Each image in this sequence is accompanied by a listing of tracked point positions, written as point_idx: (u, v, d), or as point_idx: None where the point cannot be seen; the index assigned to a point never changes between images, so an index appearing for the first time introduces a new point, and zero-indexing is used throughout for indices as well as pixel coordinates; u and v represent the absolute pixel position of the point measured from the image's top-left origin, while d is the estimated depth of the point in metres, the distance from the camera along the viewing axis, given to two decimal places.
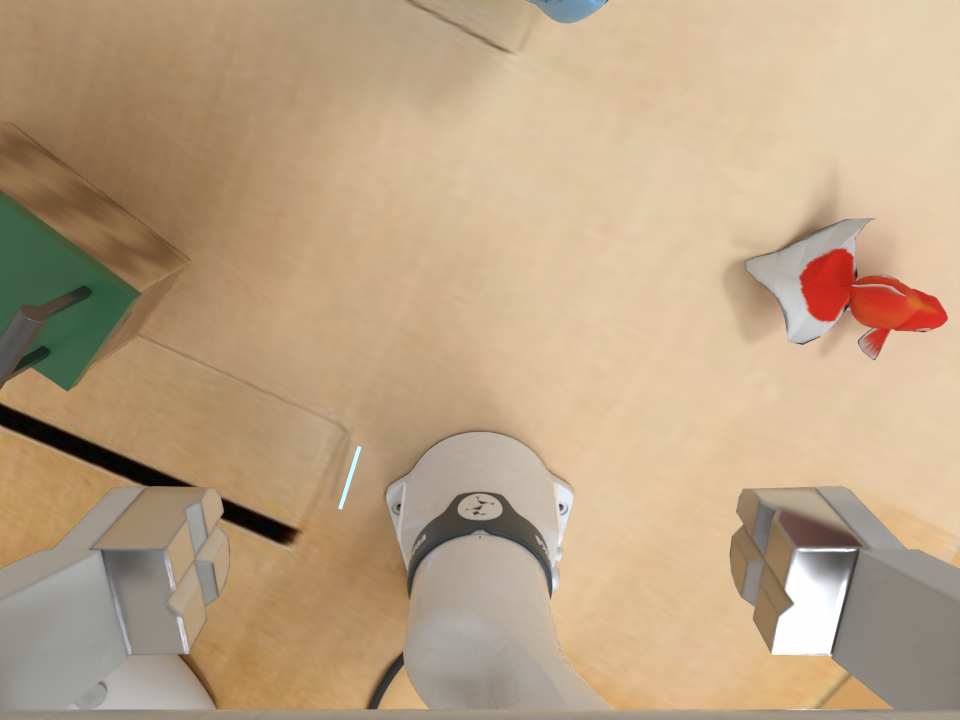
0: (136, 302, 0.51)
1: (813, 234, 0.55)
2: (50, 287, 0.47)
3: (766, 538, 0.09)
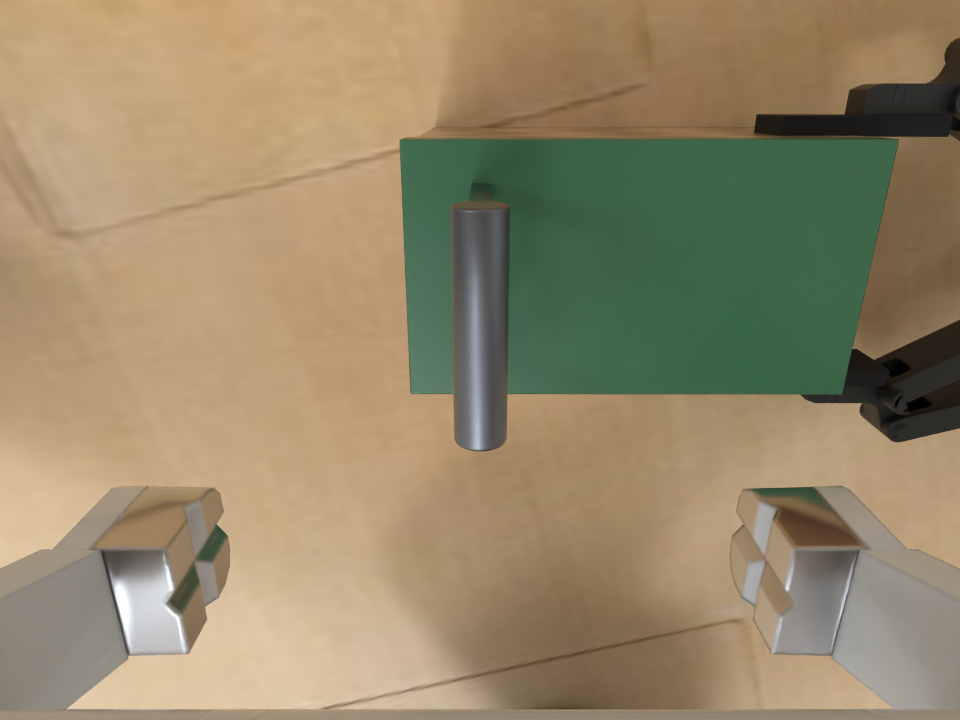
0: None
1: None
2: (534, 316, 0.25)
3: (766, 538, 0.09)
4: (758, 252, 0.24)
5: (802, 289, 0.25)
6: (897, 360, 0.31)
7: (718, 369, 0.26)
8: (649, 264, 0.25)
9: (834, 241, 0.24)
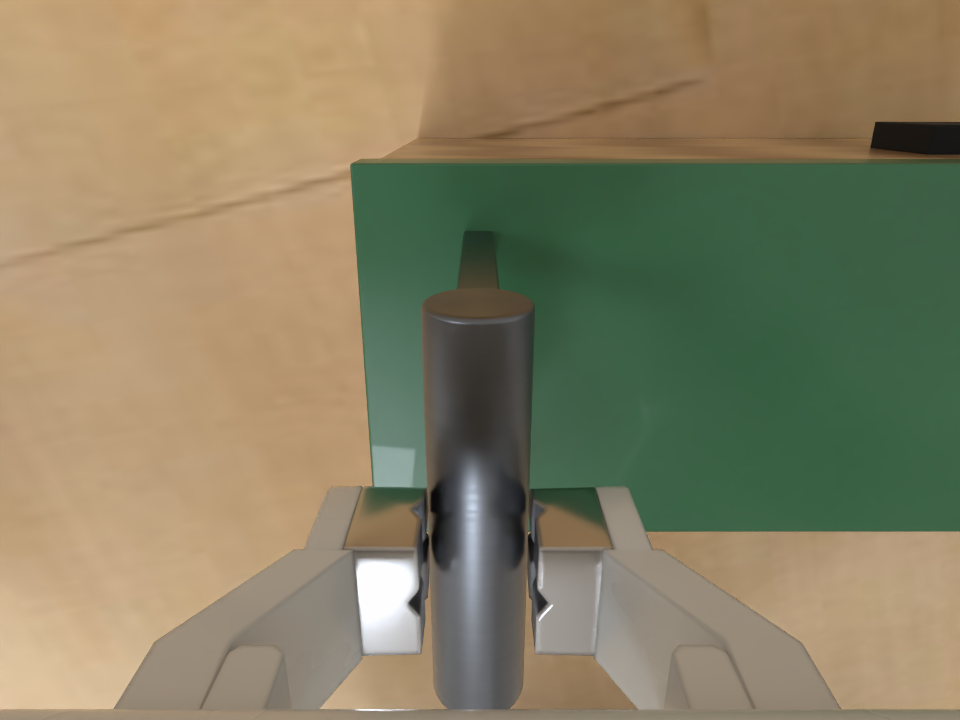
0: None
1: None
2: (558, 425, 0.17)
3: None
4: (901, 333, 0.16)
5: None
6: None
7: (828, 498, 0.18)
8: (735, 351, 0.16)
9: None
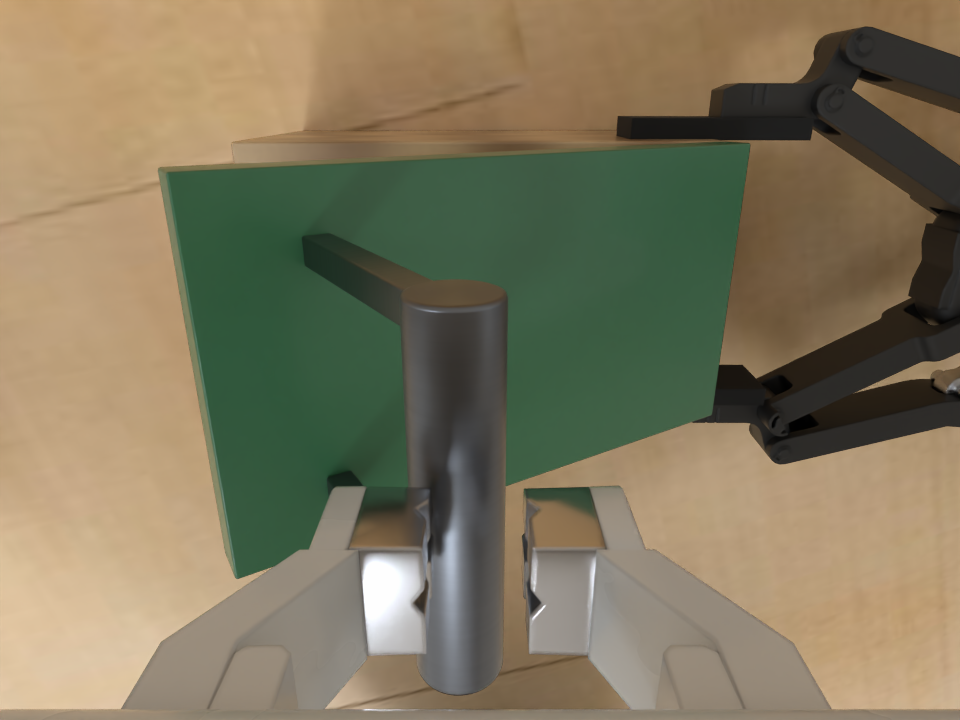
0: None
1: None
2: None
3: None
4: (643, 280, 0.21)
5: (680, 314, 0.22)
6: (782, 376, 0.29)
7: (612, 421, 0.22)
8: (540, 315, 0.19)
9: (704, 257, 0.22)
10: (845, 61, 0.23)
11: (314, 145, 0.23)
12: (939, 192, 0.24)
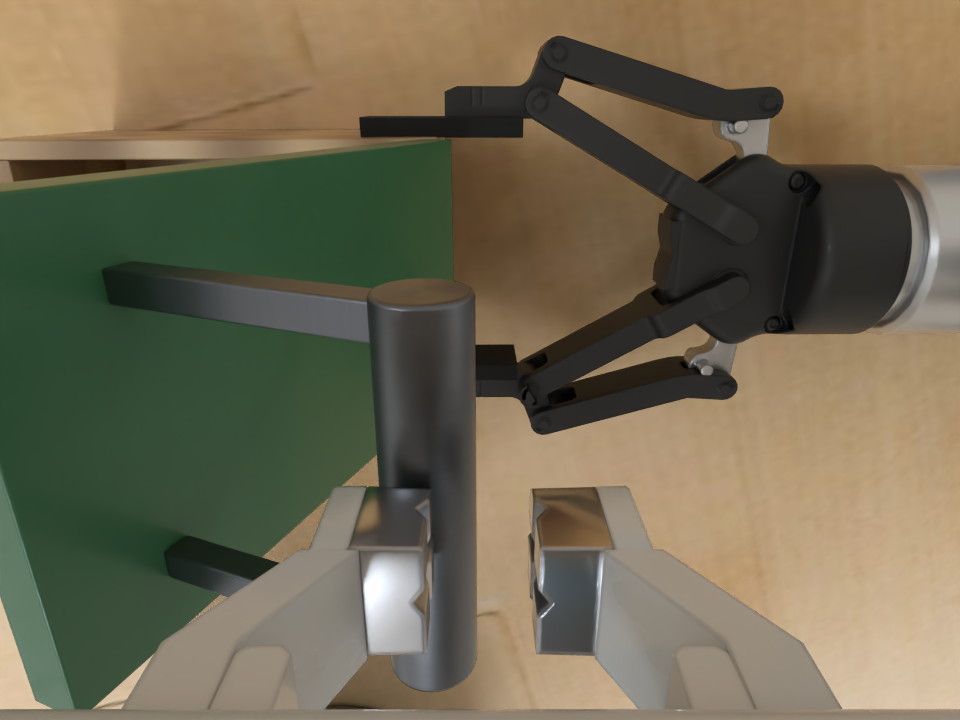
0: None
1: None
2: (234, 453, 0.16)
3: None
4: (399, 272, 0.22)
5: None
6: (546, 354, 0.32)
7: None
8: None
9: (435, 244, 0.24)
10: (549, 67, 0.26)
11: (61, 142, 0.25)
12: (647, 184, 0.27)
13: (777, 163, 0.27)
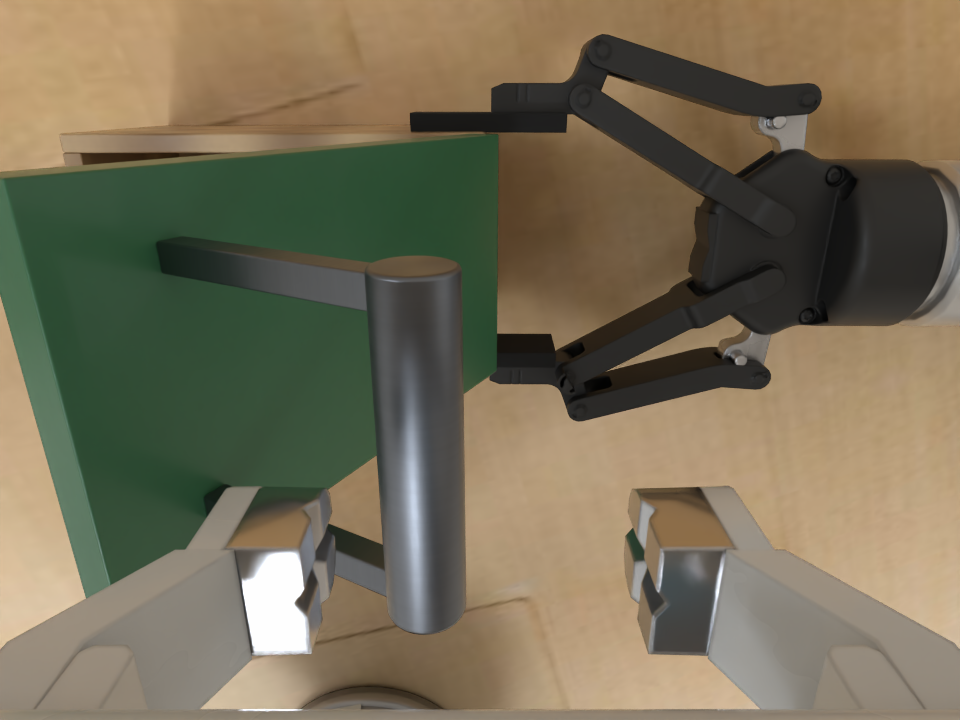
0: None
1: None
2: (271, 415, 0.17)
3: None
4: None
5: (468, 285, 0.25)
6: (582, 344, 0.33)
7: None
8: None
9: (479, 234, 0.25)
10: (593, 64, 0.27)
11: (130, 136, 0.26)
12: (686, 178, 0.28)
13: (814, 158, 0.28)
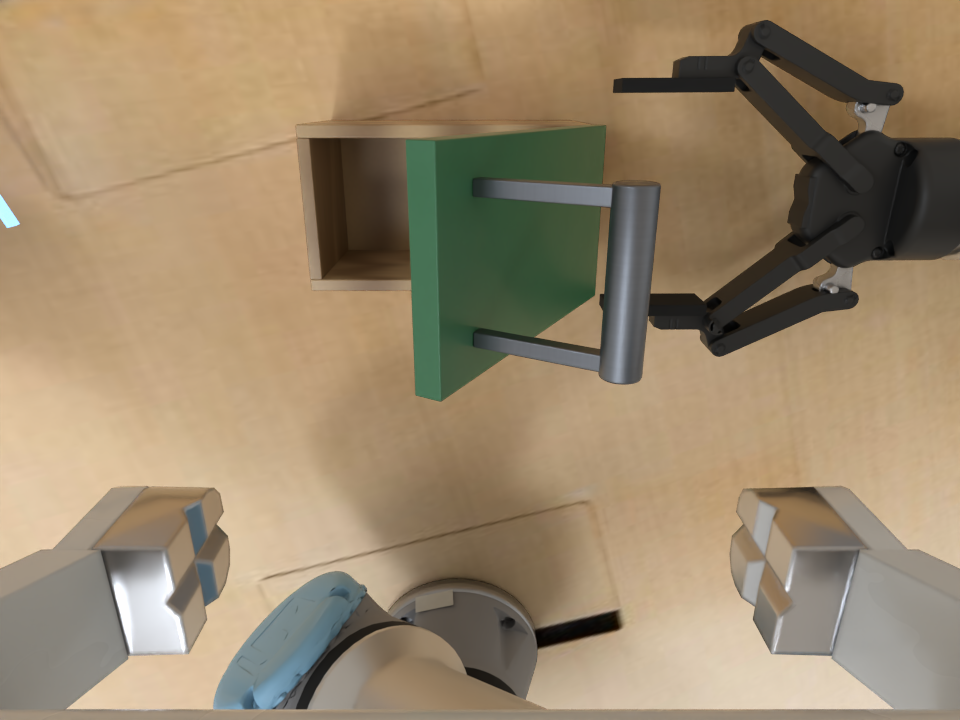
0: None
1: None
2: (499, 291, 0.29)
3: (766, 538, 0.09)
4: (573, 208, 0.35)
5: (585, 229, 0.37)
6: (717, 298, 0.44)
7: (563, 298, 0.36)
8: (542, 229, 0.31)
9: None
10: (755, 42, 0.37)
11: (345, 126, 0.38)
12: (804, 138, 0.39)
13: (886, 136, 0.39)
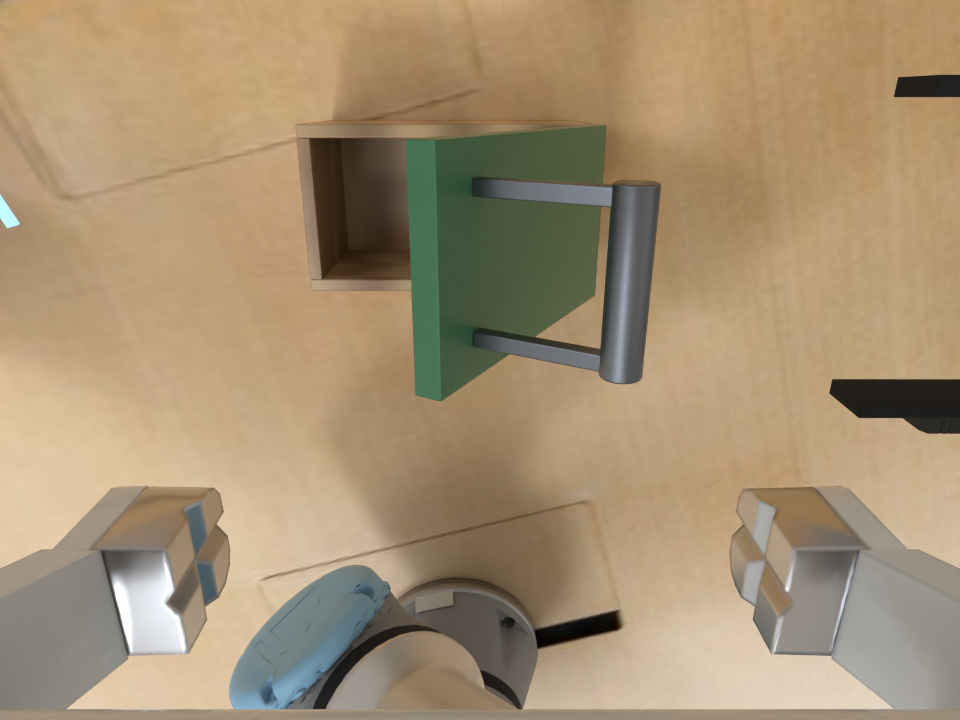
0: None
1: None
2: (500, 291, 0.29)
3: (766, 538, 0.09)
4: (573, 208, 0.35)
5: (585, 229, 0.37)
6: None
7: (563, 298, 0.36)
8: (542, 228, 0.31)
9: None
10: None
11: (345, 126, 0.38)
12: None
13: None
